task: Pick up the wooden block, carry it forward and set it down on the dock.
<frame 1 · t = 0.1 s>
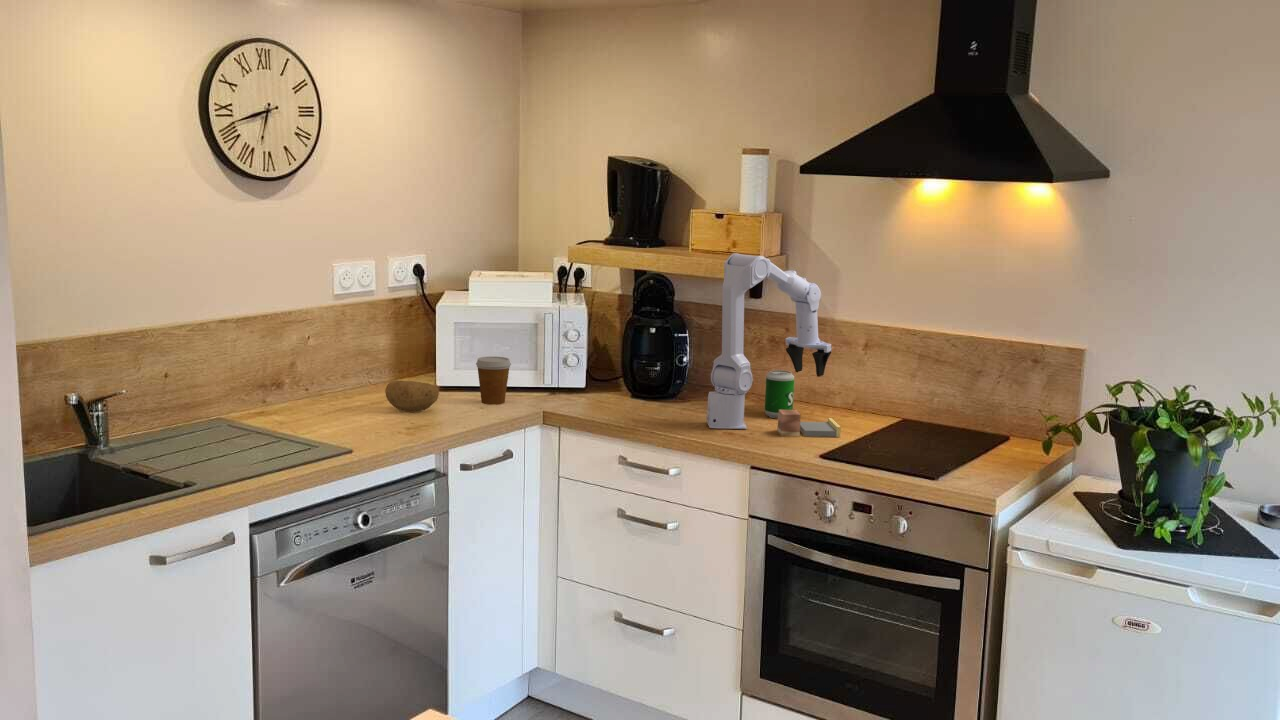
hand: (809, 373, 308), 11 cm above the countertop, tool pointing down, fingers open, 7 cm apart
disposable coffee cup: (493, 403, 307), on the countertop
dock: (816, 432, 285), on the countertop
wooden block: (788, 433, 282), on the countertop
soda can: (778, 416, 302), on the countertop
potato: (412, 411, 293), on the countertop
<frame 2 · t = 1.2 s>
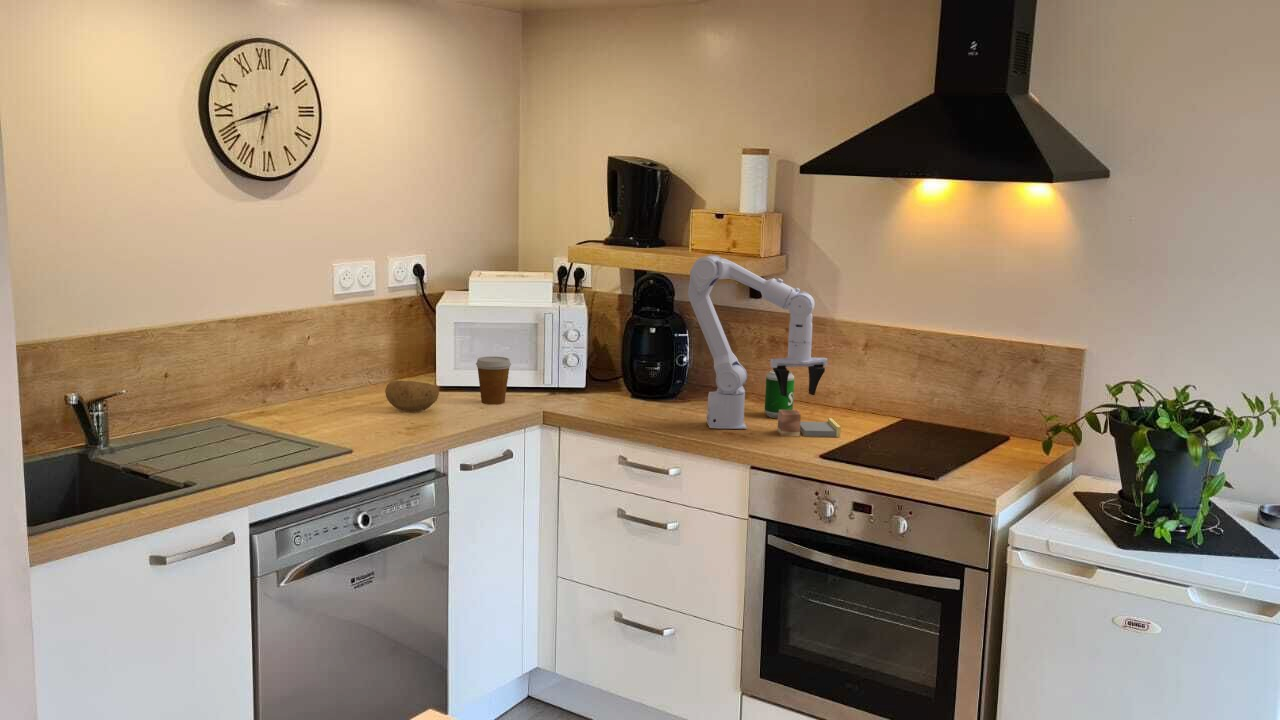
hand: (797, 395, 282), 10 cm above the countertop, tool pointing down, fingers open, 7 cm apart
nothing on the countertop moved.
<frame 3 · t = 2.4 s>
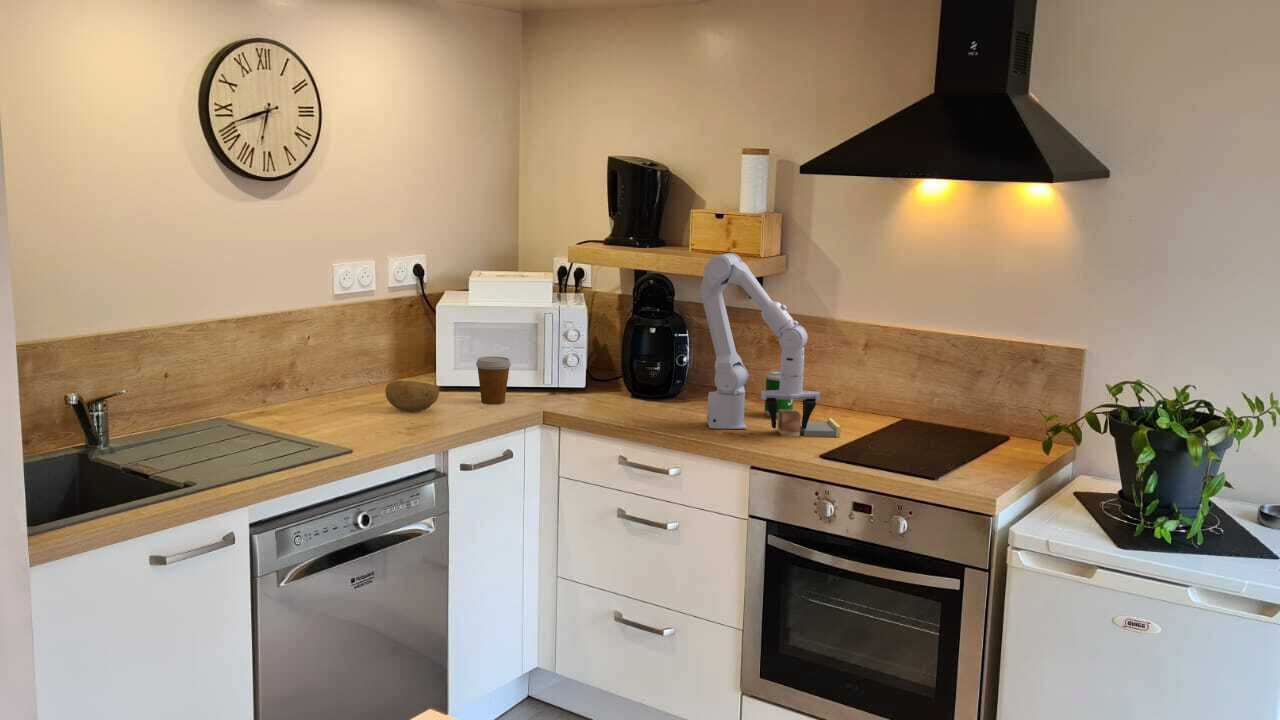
hand: (788, 427, 282), 1 cm above the countertop, tool pointing down, fingers open, 7 cm apart
nothing on the countertop moved.
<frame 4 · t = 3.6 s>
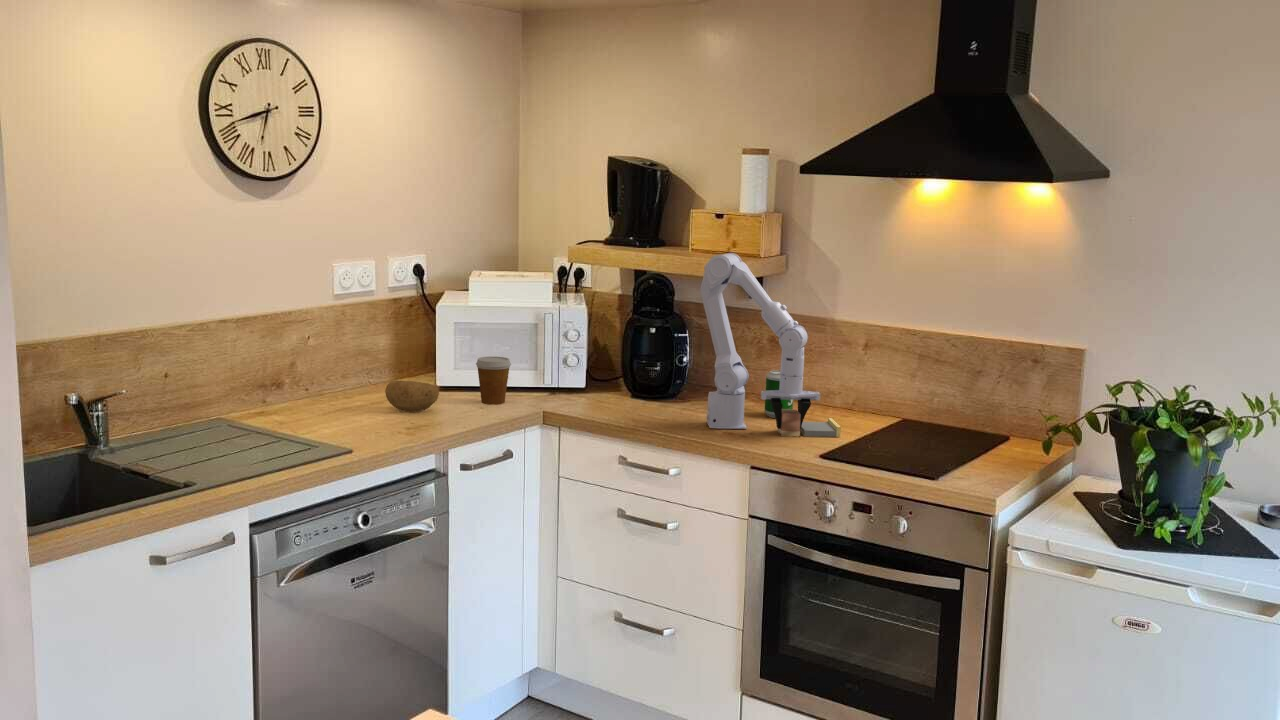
hand: (788, 427, 282), 1 cm above the countertop, tool pointing down, fingers closed on wooden block, 4 cm apart
wooden block: (788, 433, 282), on the countertop, touching gripper
everything else where it was.
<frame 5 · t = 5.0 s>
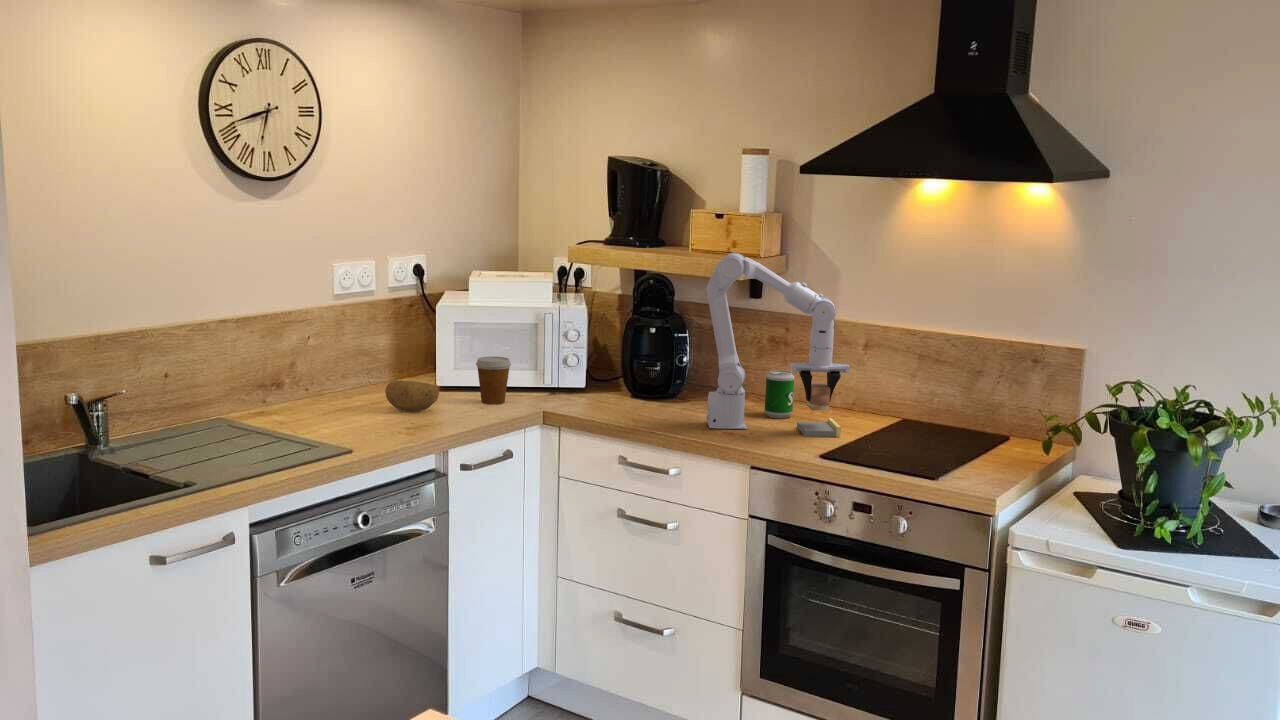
hand: (818, 400, 283), 8 cm above the countertop, tool pointing down, fingers closed on wooden block, 4 cm apart
wooden block: (817, 407, 284), point 6 cm above the countertop, touching gripper
everything else where it was.
when the fingers open (4 cm above the countertop, at t = 6.6 s): wooden block stays where it is, resting on dock.
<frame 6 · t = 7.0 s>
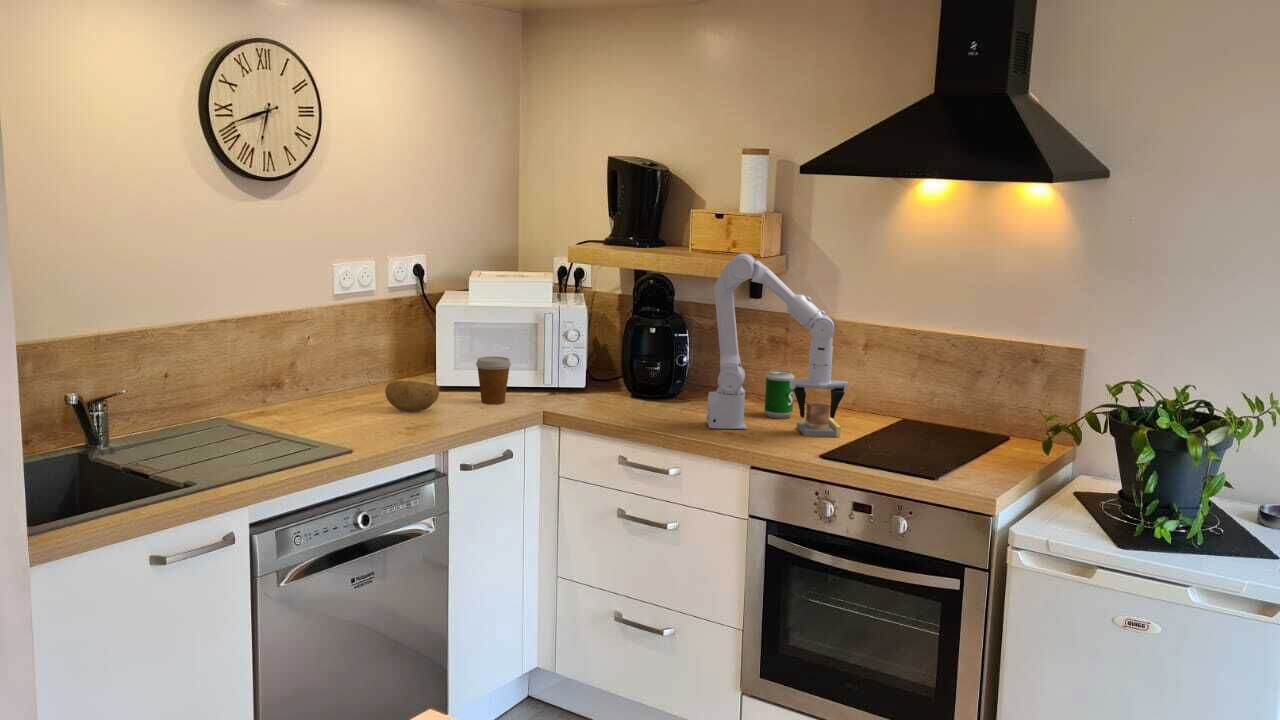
hand: (817, 417, 284), 4 cm above the countertop, tool pointing down, fingers open, 7 cm apart
wooden block: (816, 426, 285), point 1 cm above the countertop, touching dock
everything else where it was.
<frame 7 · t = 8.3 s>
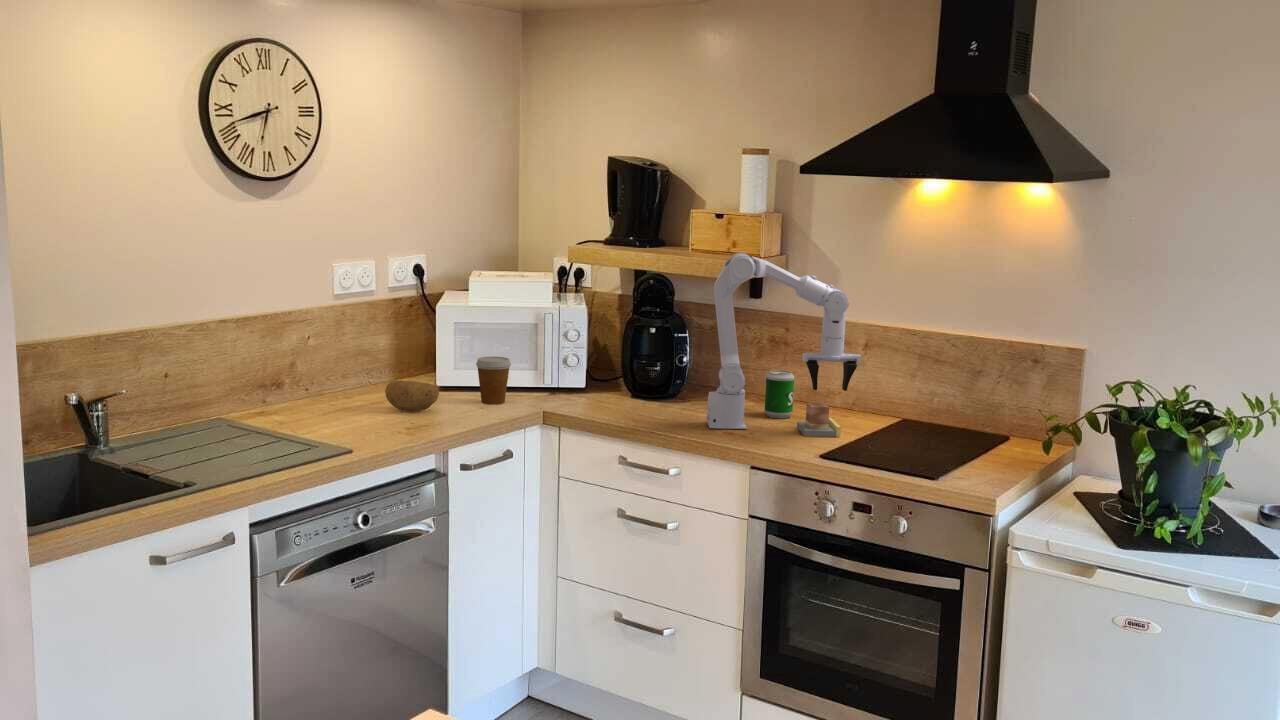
hand: (829, 389, 286), 10 cm above the countertop, tool pointing down, fingers open, 7 cm apart
nothing on the countertop moved.
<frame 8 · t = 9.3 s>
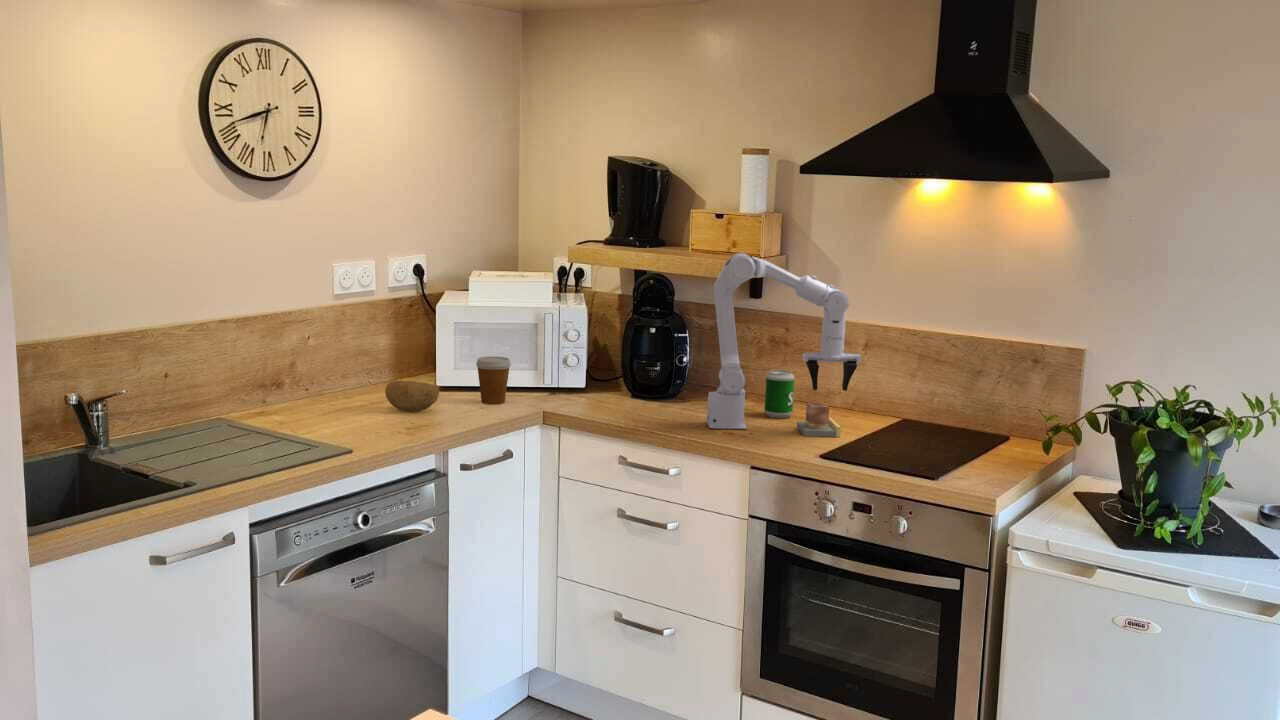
hand: (829, 389, 286), 10 cm above the countertop, tool pointing down, fingers open, 7 cm apart
nothing on the countertop moved.
at the end: wooden block inside the target area on the dock (0.1 cm from its centre), point 1.5 cm above the dock's base; wooden block tilted 0°; the gripper is holding nothing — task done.
